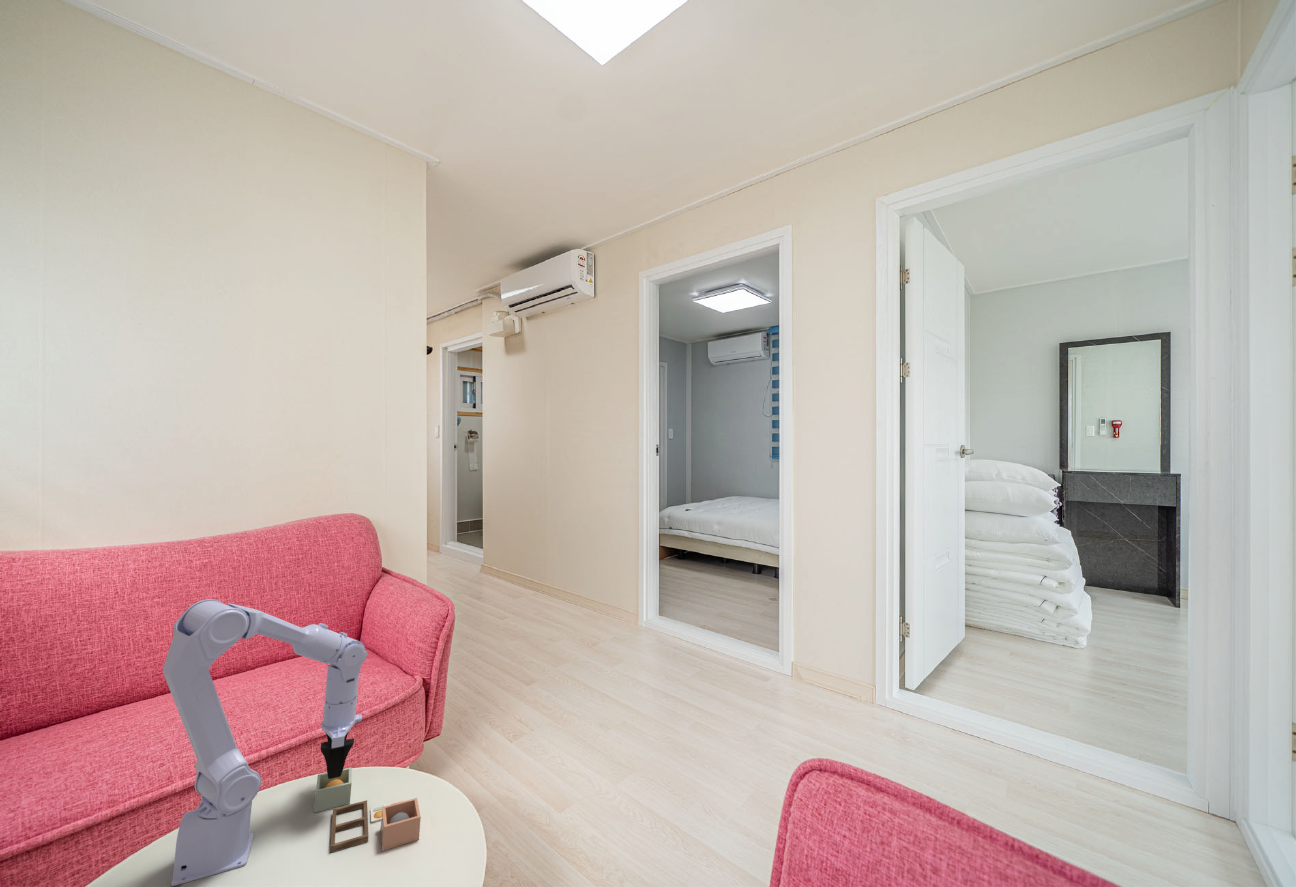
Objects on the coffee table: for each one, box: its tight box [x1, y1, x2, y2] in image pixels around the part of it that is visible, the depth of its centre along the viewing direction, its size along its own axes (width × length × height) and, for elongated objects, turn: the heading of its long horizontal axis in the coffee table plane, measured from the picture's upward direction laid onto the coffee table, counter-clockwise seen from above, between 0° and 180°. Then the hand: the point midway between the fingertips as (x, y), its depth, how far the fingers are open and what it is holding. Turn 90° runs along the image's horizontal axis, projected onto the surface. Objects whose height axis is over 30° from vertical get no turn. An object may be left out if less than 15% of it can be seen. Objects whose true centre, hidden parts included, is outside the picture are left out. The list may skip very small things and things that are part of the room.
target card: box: [369, 799, 405, 824], centre depth 98 cm, size 6×4×1 cm, turn 121°
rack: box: [329, 799, 370, 854], centre depth 93 cm, size 6×11×1 cm, turn 31°
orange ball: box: [325, 779, 344, 788], centre depth 101 cm, size 4×4×4 cm
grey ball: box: [389, 812, 409, 824], centre depth 92 cm, size 4×4×4 cm
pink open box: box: [380, 797, 422, 852], centre depth 92 cm, size 6×6×4 cm
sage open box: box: [313, 766, 353, 814], centre depth 101 cm, size 6×6×4 cm
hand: (335, 766), depth 101 cm, fingers open, 7 cm apart
